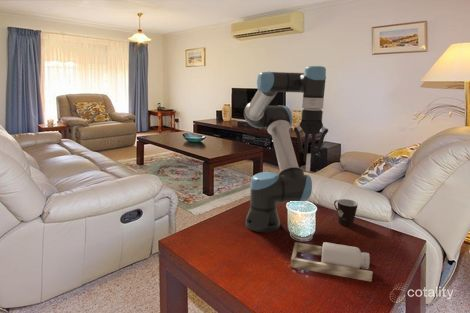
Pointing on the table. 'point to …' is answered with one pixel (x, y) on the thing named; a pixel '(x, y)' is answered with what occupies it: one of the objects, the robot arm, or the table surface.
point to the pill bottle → (344, 256)
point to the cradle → (325, 264)
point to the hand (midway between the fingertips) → (307, 170)
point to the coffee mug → (346, 211)
